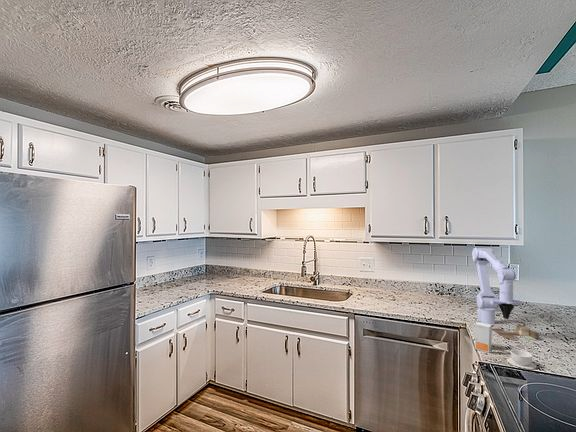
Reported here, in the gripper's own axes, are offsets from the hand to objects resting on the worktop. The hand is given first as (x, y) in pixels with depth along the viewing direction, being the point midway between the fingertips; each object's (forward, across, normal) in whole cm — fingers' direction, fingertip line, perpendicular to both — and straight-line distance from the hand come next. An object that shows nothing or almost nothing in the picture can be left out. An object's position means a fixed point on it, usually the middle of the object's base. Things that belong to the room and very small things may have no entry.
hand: (505, 318), depth 160 cm
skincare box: (+10, -21, -18) cm, 29 cm away
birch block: (+8, +8, 0) cm, 11 cm away
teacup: (+10, -12, -31) cm, 35 cm away
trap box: (+9, +3, 0) cm, 10 cm away
